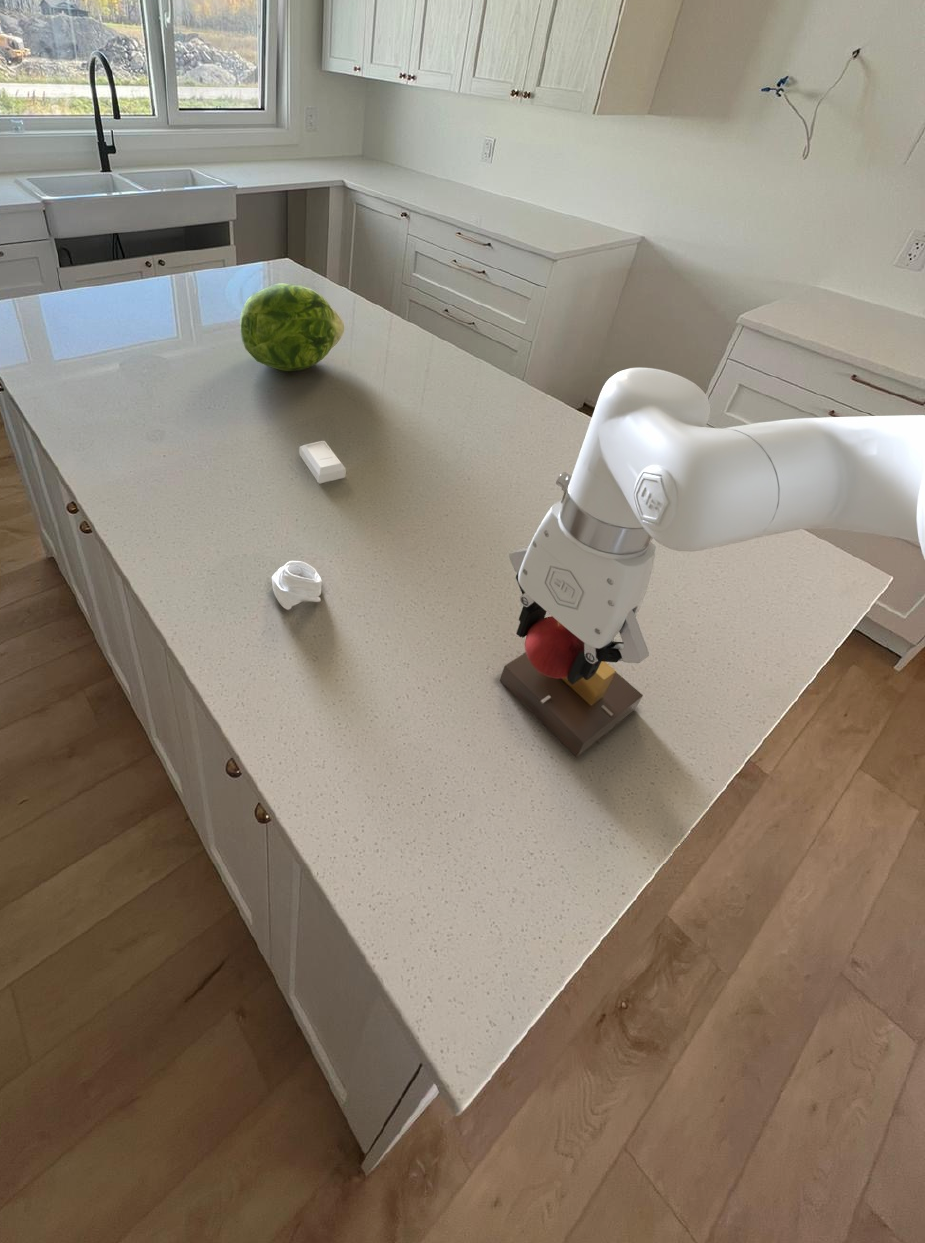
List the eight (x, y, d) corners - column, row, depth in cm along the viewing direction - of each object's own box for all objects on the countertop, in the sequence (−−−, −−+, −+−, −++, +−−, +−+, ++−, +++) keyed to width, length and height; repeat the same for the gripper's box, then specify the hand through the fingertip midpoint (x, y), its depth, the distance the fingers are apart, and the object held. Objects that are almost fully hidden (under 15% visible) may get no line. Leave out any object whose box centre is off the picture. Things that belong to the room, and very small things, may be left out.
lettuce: (356, 375, 140) (365, 292, 132) (260, 383, 128) (264, 292, 120) (314, 352, 154) (320, 275, 146) (223, 357, 142) (224, 274, 134)
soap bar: (318, 483, 107) (319, 471, 106) (299, 455, 114) (299, 442, 112) (345, 477, 109) (346, 465, 108) (324, 449, 115) (325, 437, 114)
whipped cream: (264, 585, 89) (259, 560, 86) (305, 565, 92) (302, 541, 89) (290, 621, 84) (285, 595, 81) (333, 599, 86) (330, 574, 84)
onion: (569, 650, 67) (592, 599, 62) (579, 697, 62) (604, 646, 58) (515, 644, 67) (532, 592, 62) (520, 690, 63) (540, 638, 58)
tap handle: (602, 697, 74) (617, 669, 70) (591, 706, 73) (604, 678, 69) (556, 655, 78) (567, 627, 75) (544, 663, 77) (555, 635, 74)
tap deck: (635, 709, 76) (644, 694, 74) (575, 758, 71) (583, 742, 69) (558, 641, 84) (564, 626, 82) (498, 680, 78) (504, 665, 76)
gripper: (501, 475, 56) (466, 611, 67) (675, 600, 45) (600, 738, 56) (557, 451, 59) (515, 584, 70) (730, 561, 49) (649, 697, 60)
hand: (553, 651), depth 63 cm, fingers closed on onion, 5 cm apart
